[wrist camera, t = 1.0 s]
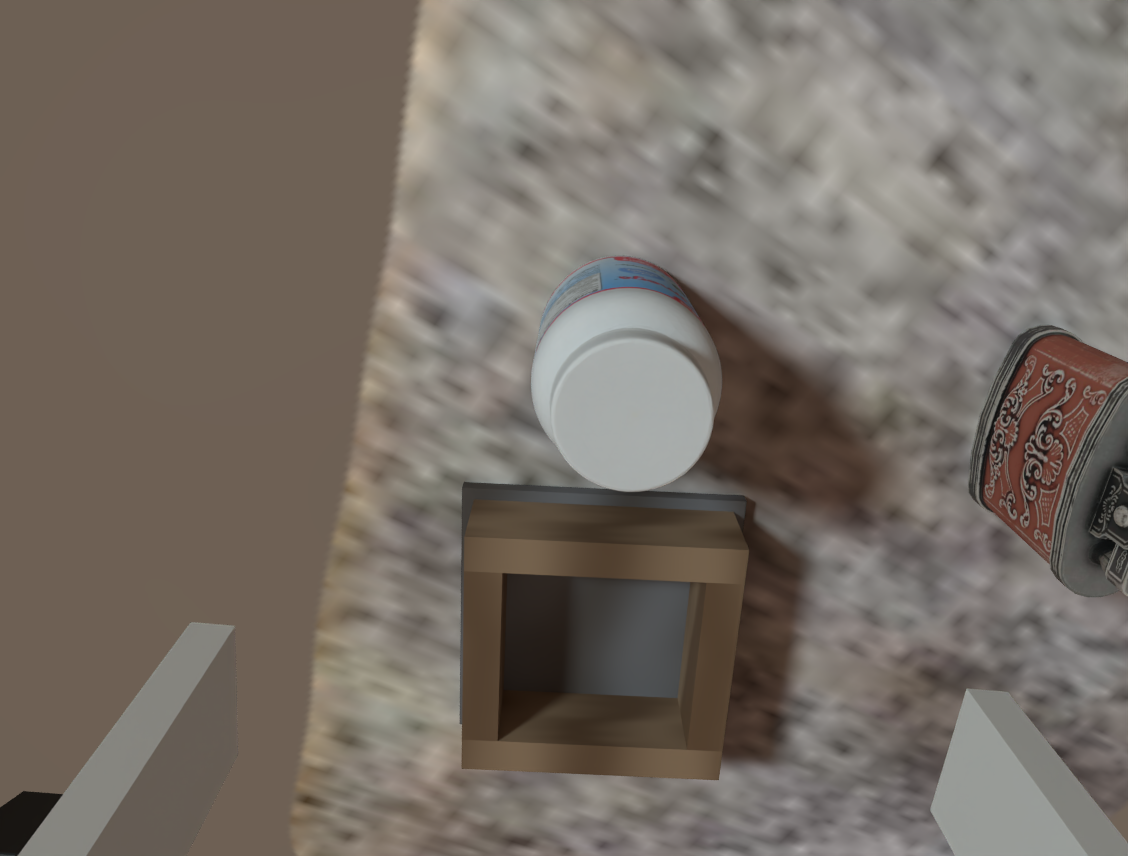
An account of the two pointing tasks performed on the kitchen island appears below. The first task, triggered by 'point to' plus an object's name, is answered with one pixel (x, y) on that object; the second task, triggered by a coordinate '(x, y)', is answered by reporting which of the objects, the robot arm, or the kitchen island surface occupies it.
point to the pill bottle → (625, 375)
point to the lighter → (1059, 457)
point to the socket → (598, 629)
